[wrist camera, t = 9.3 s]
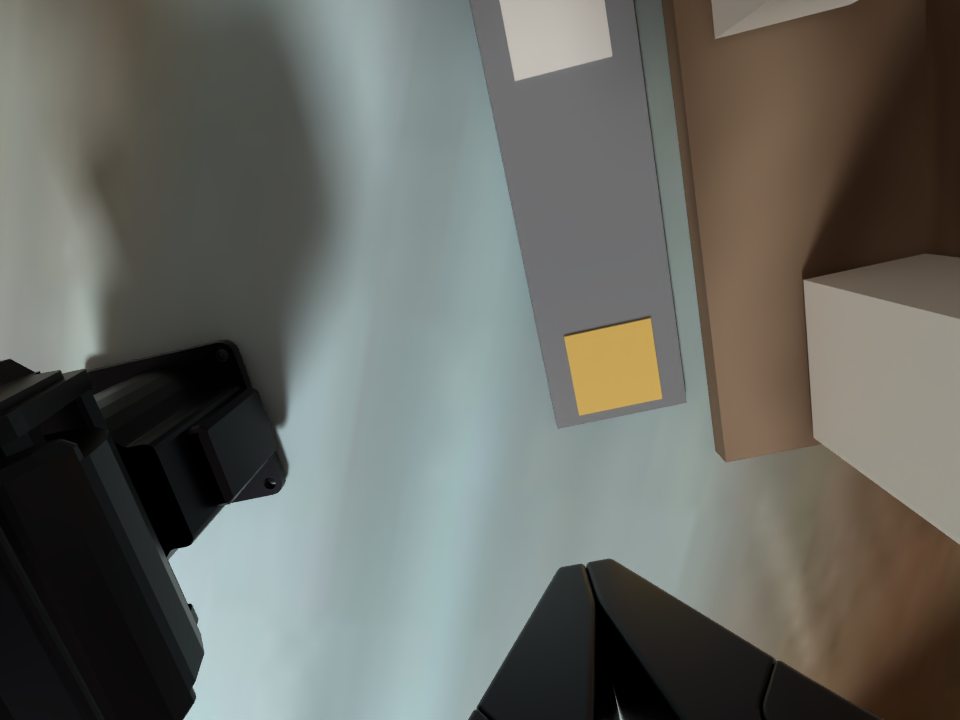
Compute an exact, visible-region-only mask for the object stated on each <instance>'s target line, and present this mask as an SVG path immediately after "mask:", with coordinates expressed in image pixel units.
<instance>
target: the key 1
mask: <svg viewBox="0 0 960 720" xmlns="http://www.w3.org/2000/svg"><path fill="white" fill-rule="evenodd" d="M856 1H858V0H711V3H712V13H713V23H714V33H715V39H717V38H721V37H725V36H729V35H733V34H737V33H741V32H745V31H749V30H753V29H757V28H761V27H765V26H768V25H772V24H776V23H780V22H784V21H788V20H792V19H796V18H800V17H804V16H808V15H812V14H816V13H819V12H823V11H827V10H831V9H835V8H839V7H843V6H847V5H850V4H852V3H854V2H856Z"/></svg>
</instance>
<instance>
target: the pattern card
mask: <svg viewBox="0 0 960 720" xmlns="http://www.w3.org/2000/svg"><path fill="white" fill-rule="evenodd" d="M470 5H471V10H472V15H473V20H474V25H475V30H476V34H477V39H478V44H479V49H480V54H481V59H482V64H483V68H484V73H485V78H486V83H487V88H488V93H489V98H490V103H491V107H492V112H493V117H494V122H495V127H496V132H497V137H498V141H499V146H500V151H501V156H502V161H503V166H504V171H505V176H506V180H507V185H508V190H509V195H510V200H511V205H512V210H513V214H514V219H515V224H516V229H517V234H518V239H519V244H520V249H521V253H522V258H523V263H524V268H525V273H526V278H527V283H528V288H529V292H530V297H531V302H532V307H533V312H534V317H535V322H536V326H537V331H538V336H539V341H540V346H541V351H542V356H543V361H544V365H545V370H546V375H547V380H548V385H549V390H550V395H551V399H552V404H553V409H554V414H555V419H556V424H557V427H558V429H559V428H564V427H569V426H574V425H579V424H584V423H588V422H593V421H598V420H603V419H608V418H613V417H618V416H623V415H628V414H633V413H638V412H643V411H648V410H652V409H657V408H662V407H667V406H672V405H677V404H682V403H687V402H686V395H685V387H684V380H683V372H682V364H681V357H680V349H679V342H678V334H677V327H676V319H675V312H674V304H673V296H672V289H671V281H670V274H669V266H668V259H667V251H666V244H665V236H664V228H663V221H662V213H661V206H660V198H659V191H658V183H657V176H656V168H655V160H654V153H653V145H652V138H651V130H650V123H649V115H648V108H647V100H646V93H645V85H644V77H643V70H642V62H641V55H640V47H639V40H638V32H637V25H636V17H635V9H634V2H633V0H470Z"/></svg>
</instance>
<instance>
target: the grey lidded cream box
mask: <svg viewBox="0 0 960 720" xmlns="http://www.w3.org/2000/svg"><path fill="white" fill-rule="evenodd" d="M803 281H804V297H805V312H806V328H807V343H808V359H809V374H810V390H811V405H812V421H813V436H814V438H815V439H816V440H817V441H819V442H820V443H821V444H823V445H824V446H826V447H827V448H828V449H830V450H831V451H832V452H834V453H835V454H837V455H838V456H839V457H841V458H842V459H843V460H845V461H846V462H848V463H849V464H850V465H852V466H853V467H854V468H856V469H857V470H858V471H860V472H861V473H863V474H864V475H865V476H867V477H868V478H869V479H871V480H872V481H874V482H875V483H876V484H878V485H879V486H880V487H882V488H883V489H884V490H886V491H887V492H889V493H890V494H891V495H893V496H894V497H895V498H897V499H898V500H900V501H901V502H902V503H904V504H905V505H906V506H908V507H909V508H911V509H912V510H913V511H915V512H916V513H917V514H919V515H920V516H921V517H923V518H924V519H926V520H927V521H928V522H930V523H931V524H932V525H934V526H935V527H937V528H938V529H939V530H941V531H942V532H943V533H945V534H946V535H947V536H949V537H950V538H952V539H953V540H954V541H956V542H957V543H958V544H960V258H959V257H951V256H942V255H934V254H926V253H925V254H920V255H916V256H911V257H907V258H902V259H897V260H893V261H888V262H884V263H879V264H874V265H870V266H865V267H861V268H856V269H851V270H847V271H842V272H838V273H833V274H828V275H824V276H819V277H815V278H810V279H805V280H803Z"/></svg>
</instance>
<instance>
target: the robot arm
mask: <svg viewBox="0 0 960 720" xmlns="http://www.w3.org/2000/svg"><path fill="white" fill-rule="evenodd" d="M220 349H224V350H225V351H226V352H227V353H228V359H225V358H223V357H222V356H221V355H220ZM92 383H93V384H92ZM93 386H94V388H92V387H93ZM277 447H278V445H277V442H276V439H275V437H274V434H273V431H272V428H271V426H270V423H269V420H268V417H267V415H266V412H265V409H264V406H263V404H262V401H261V398H260V395H259V392H258V391H257V390H256V389H254V388H253V387H252V385H251V382H250V379H249V376H248V374H247V371H246V368H245V365H244V363H243V360H242V357H241V355H240V352H239V349H238V348H237V346H236V345H235V344H234V343H233V342H231V341H228V340H220V341H216V342H211V343H207V344H203V345H198V346H194V347H189V348H185V349H181V350H176V351H172V352H167V353H163V354H159V355H154V356H150V357H145V358H141V359H137V360H132V361H128V362H123V363H119V364H115V365H110V366H106V367H101V368H97V369H93V370H89V371H87V370H86V369H81V370H76V371H72V372H68V373H63V374H62V372H61V370H57V371H52V372H46V373H40V371H39V372H34V371H32V370H30V369H28V368H26V367H24V366H22V365H20V364H19V363H17V362H15V361H13V360H11V359H7V360H3V361H0V720H183V719H184V718H185V716H186V715H187V713H188V712H189V710H190V709H191V707H192V705H193V704H194V702H195V699H196V694H195V692H194V689H193V685H194V683H195V681H196V678H197V675H198V671H199V668H200V665H201V662H202V659H203V656H204V649H203V643H202V638H201V633H200V631H199V629H198V627H197V623H198V617H197V615H196V612H195V610H194V608H193V606H192V604H188V603H187V601H186V599H185V597H184V595H183V592H182V590H181V588H180V586H179V584H178V581H177V579H176V577H175V575H174V573H173V570H172V568H171V566H170V564H169V561H168V560H169V558H170V557H171V556H172V555H173V554H174V553H175V552H176V551H177V550H178V548H182V547H187V546H189V545H191V544H192V543H193V542H194V541H195V539H196V538H197V537H198V536H199V535H200V534H201V533H202V531H203V530H204V529H205V528H206V527H207V526H208V525H209V523H210V522H211V521H212V520H213V519H214V518H215V516H216V515H217V514H218V513H219V512H220V511H221V510H222V508H223V507H224V506H225V505H227V504H230V503H234V502H238V501H243V500H248V499H253V498H258V497H263V496H268V495H273V494H276V493H278V492H279V491H280V490H281V489H282V487H283V486H284V484H285V481H286V480H285V475H284V472H283V469H282V467H281V464H280V461H279V459H278V456H277V453H276V449H277ZM267 478H272V479H274V481H275V482H276V484H271V483H269V481H268V480H267ZM615 696H616V697H615ZM616 700H617V702H616ZM617 703H618V707H619V710H620V714H621V716H622V719H623V720H884V719H882V718H880V717H878V716H876V715H875V714H873V713H871V712H869V711H867V710H865V709H863V708H861V707H859V706H857V705H855V704H853V703H852V702H850V701H848V700H846V699H845V698H843V697H841V696H839V695H838V694H836V693H834V692H832V691H831V690H829V689H827V688H826V687H824V686H822V685H820V684H819V683H817V682H815V681H813V680H812V679H810V678H808V677H806V676H805V675H803V674H801V673H800V672H798V671H797V670H795V669H793V668H792V667H790V666H788V665H787V664H785V663H783V662H782V661H776V660H775V658H773V657H772V656H770V655H768V654H767V653H765V652H763V651H762V650H760V649H759V648H757V647H755V646H754V645H752V644H750V643H749V642H747V641H745V640H744V639H742V638H741V637H739V636H737V635H736V634H734V633H732V632H731V631H729V630H727V629H726V628H724V627H723V626H721V625H719V624H718V623H716V622H714V621H713V620H711V619H709V618H708V617H706V616H704V615H703V614H701V613H700V612H698V611H696V610H695V609H693V608H691V607H690V606H688V605H686V604H685V603H683V602H682V601H680V600H678V599H677V598H675V597H673V596H672V595H670V594H668V593H667V592H665V591H664V590H662V589H660V588H659V587H657V586H655V585H654V584H652V583H650V582H649V581H647V580H646V579H644V578H642V577H641V576H639V575H637V574H636V573H634V572H632V571H631V570H629V569H628V568H626V567H624V566H623V565H621V564H619V563H618V562H616V561H614V560H612V559H604V560H599V561H593V562H589V563H588V564H587V566H586V567H585V566H584V565H583V564H577V565H571V566H565V567H561V568H559V569H558V570H557V572H556V574H555V576H554V577H553V579H552V581H551V582H550V584H549V586H548V587H547V589H546V591H545V592H544V594H543V596H542V598H541V599H540V601H539V603H538V604H537V606H536V608H535V609H534V611H533V613H532V614H531V616H530V618H529V620H528V621H527V623H526V625H525V626H524V628H523V630H522V631H521V633H520V635H519V636H518V638H517V640H516V642H515V643H514V645H513V647H512V648H511V650H510V652H509V653H508V655H507V657H506V658H505V660H504V662H503V664H502V665H501V667H500V669H499V670H498V672H497V674H496V675H495V677H494V679H493V680H492V682H491V684H490V686H489V687H488V689H487V691H486V692H485V694H484V696H483V697H482V699H481V701H480V702H479V704H478V706H477V710H474V711H473V712H472V714H471V716H470V717H469V719H468V720H620V719H619V712H618V707H617Z"/></svg>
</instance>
